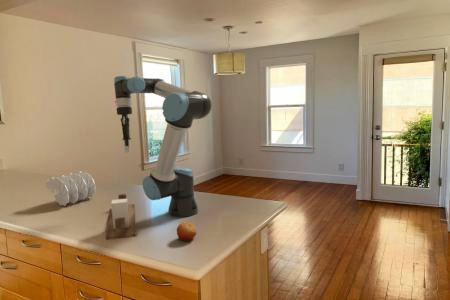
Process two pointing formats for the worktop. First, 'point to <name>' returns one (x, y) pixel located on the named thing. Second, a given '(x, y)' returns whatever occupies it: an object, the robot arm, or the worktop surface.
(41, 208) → the worktop surface
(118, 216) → the sleeve
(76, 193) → the spiral staircase
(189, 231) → the fruit
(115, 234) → the walnut board
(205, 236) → the worktop surface
